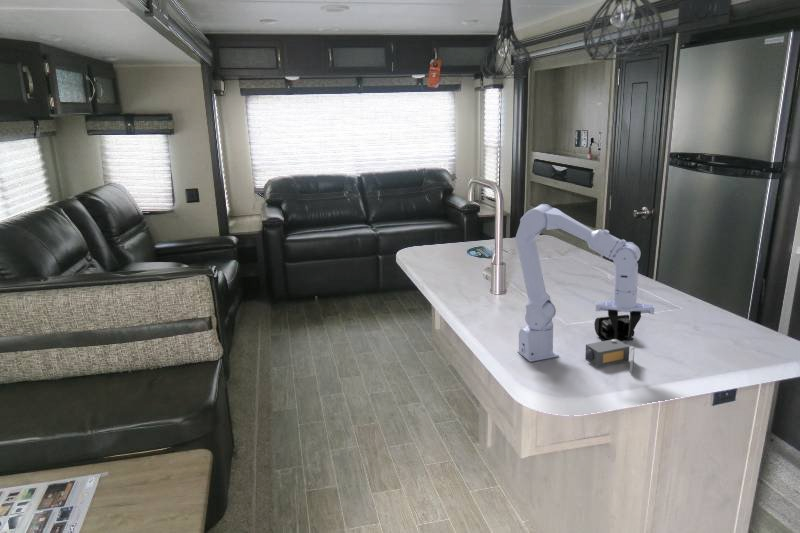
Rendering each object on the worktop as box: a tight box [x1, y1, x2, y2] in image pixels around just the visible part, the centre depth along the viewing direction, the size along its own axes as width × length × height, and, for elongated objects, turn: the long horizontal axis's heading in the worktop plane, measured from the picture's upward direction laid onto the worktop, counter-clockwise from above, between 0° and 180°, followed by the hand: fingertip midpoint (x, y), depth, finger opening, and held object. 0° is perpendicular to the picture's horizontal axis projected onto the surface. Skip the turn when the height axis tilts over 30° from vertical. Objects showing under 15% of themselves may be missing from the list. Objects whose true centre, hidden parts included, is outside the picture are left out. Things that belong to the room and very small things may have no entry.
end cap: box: [593, 314, 635, 342], centre depth 176 cm, size 10×7×7 cm
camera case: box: [585, 339, 631, 368], centre depth 161 cm, size 11×6×5 cm, turn 106°
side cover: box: [629, 346, 635, 374], centre depth 156 cm, size 9×1×4 cm, turn 157°
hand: (622, 336), depth 154 cm, fingers open, 3 cm apart
